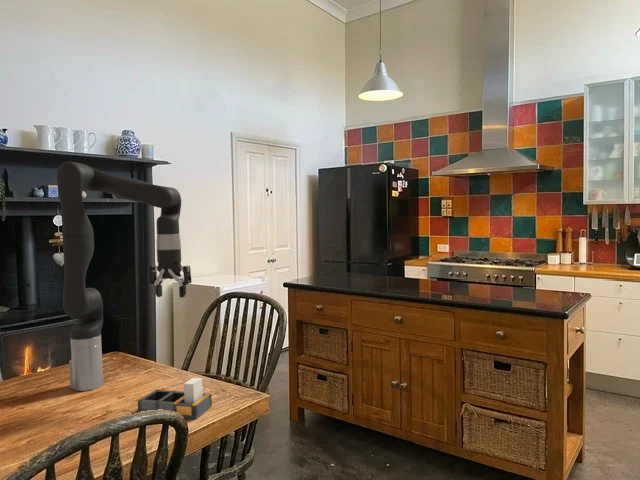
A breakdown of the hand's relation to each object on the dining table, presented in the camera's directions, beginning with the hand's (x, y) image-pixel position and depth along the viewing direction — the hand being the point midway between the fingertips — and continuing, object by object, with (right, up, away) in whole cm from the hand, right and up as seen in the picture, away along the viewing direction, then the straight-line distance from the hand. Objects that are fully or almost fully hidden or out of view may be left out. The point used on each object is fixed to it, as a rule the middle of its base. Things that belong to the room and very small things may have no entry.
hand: (170, 297), depth 154 cm
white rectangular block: (+13, -30, -19) cm, 38 cm away
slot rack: (+7, -31, -18) cm, 36 cm away
